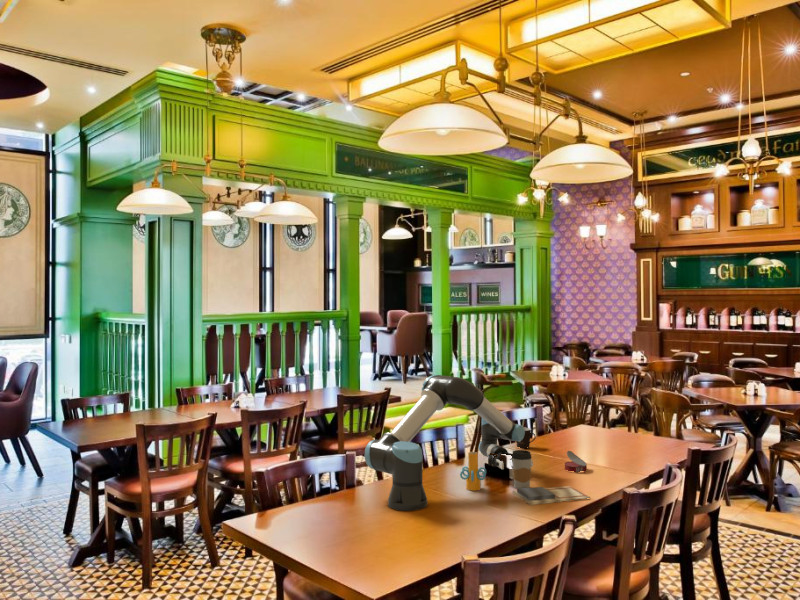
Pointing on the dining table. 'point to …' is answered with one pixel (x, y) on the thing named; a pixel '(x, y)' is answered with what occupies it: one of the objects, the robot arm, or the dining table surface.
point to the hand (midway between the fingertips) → (517, 464)
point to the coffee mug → (525, 439)
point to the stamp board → (558, 493)
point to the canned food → (575, 463)
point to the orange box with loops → (473, 473)
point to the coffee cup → (521, 468)
